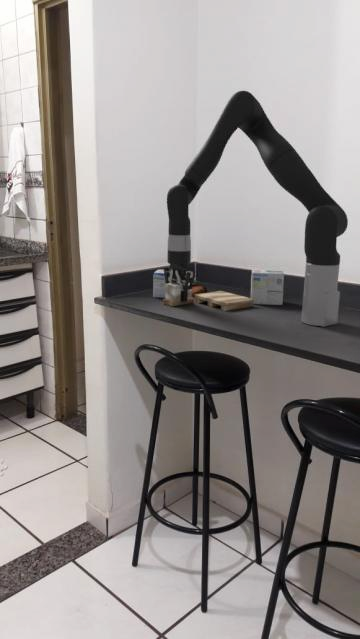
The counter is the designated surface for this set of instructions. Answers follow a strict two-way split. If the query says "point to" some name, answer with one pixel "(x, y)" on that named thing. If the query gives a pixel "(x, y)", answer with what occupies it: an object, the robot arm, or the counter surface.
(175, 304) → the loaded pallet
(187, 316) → the counter surface
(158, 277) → the medicine box
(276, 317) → the counter surface
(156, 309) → the counter surface
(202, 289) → the sunglasses case
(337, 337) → the counter surface
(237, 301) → the dock
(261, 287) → the light bulb box
